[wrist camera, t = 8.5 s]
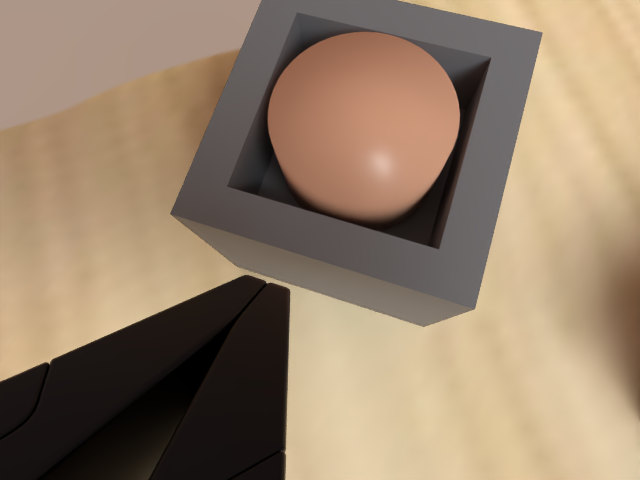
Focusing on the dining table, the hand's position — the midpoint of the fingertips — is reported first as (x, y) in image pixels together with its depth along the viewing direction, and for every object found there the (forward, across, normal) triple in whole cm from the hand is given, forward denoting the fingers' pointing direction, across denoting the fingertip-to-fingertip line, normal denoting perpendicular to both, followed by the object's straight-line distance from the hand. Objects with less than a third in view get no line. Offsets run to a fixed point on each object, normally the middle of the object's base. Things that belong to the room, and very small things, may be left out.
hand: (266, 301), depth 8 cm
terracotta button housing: (+13, 0, +4) cm, 14 cm away
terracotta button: (+9, 0, 0) cm, 9 cm away
